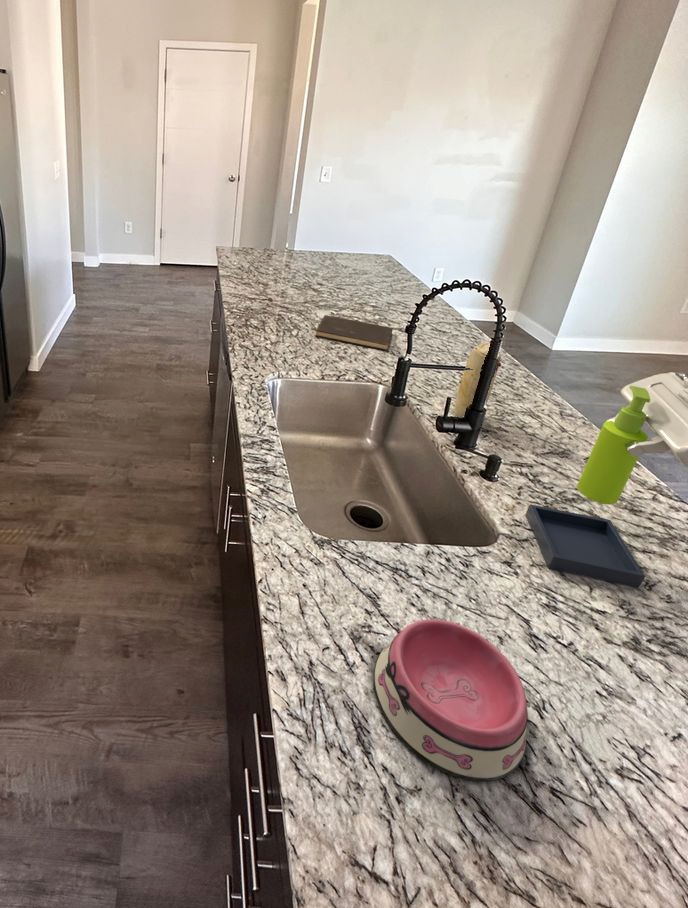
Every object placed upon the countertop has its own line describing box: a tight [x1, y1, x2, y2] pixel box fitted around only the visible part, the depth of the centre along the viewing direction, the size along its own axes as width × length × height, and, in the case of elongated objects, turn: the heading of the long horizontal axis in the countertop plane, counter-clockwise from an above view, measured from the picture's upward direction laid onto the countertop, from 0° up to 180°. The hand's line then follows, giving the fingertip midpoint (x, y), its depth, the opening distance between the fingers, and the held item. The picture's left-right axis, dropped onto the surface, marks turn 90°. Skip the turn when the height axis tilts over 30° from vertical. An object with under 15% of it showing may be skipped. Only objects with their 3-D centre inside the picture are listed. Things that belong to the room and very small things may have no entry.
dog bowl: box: [372, 618, 529, 782], centre depth 70 cm, size 18×19×7 cm
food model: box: [453, 342, 502, 418], centre depth 132 cm, size 10×7×20 cm
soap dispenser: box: [576, 385, 651, 505], centre depth 90 cm, size 6×7×20 cm
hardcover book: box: [314, 314, 394, 352], centre depth 181 cm, size 16×23×2 cm
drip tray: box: [525, 503, 646, 589], centre depth 97 cm, size 14×14×3 cm
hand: (618, 438), depth 90 cm, fingers closed on soap dispenser, 6 cm apart
